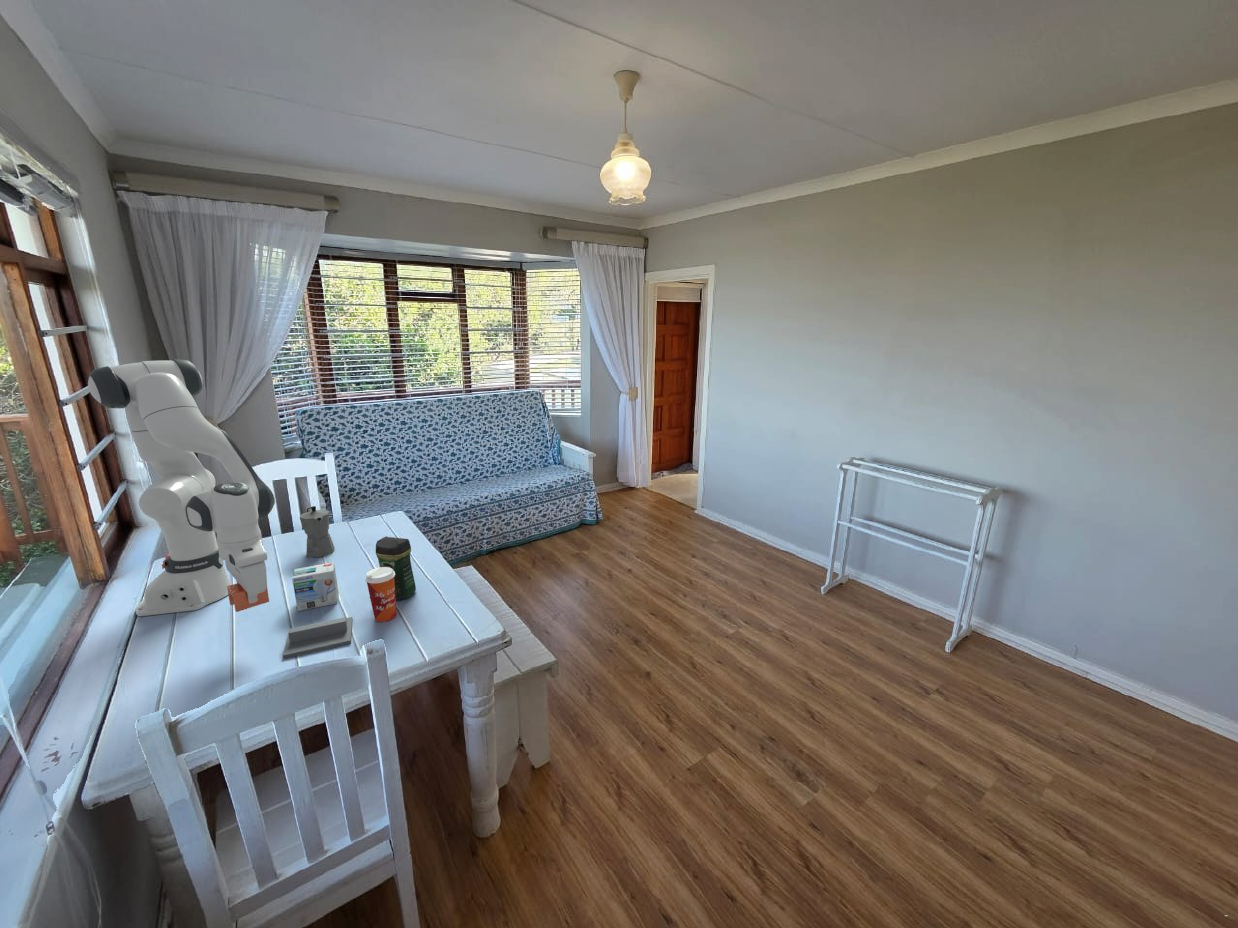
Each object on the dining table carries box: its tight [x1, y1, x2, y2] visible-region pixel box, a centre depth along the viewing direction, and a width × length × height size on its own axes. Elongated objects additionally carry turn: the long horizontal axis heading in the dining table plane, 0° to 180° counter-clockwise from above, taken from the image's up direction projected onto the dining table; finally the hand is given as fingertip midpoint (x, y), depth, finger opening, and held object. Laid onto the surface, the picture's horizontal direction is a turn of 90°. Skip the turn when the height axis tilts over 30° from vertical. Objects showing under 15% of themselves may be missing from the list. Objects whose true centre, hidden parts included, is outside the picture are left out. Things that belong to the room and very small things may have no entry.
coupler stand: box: [282, 616, 354, 660], centre depth 132 cm, size 15×12×4 cm
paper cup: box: [364, 566, 397, 623], centre depth 141 cm, size 8×8×14 cm
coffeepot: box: [299, 505, 336, 559], centre depth 181 cm, size 15×9×18 cm, turn 44°
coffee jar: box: [375, 535, 417, 601], centre depth 152 cm, size 10×8×19 cm
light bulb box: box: [291, 561, 340, 612], centre depth 148 cm, size 11×7×11 cm, turn 118°
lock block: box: [227, 582, 270, 613], centre depth 127 cm, size 7×6×5 cm
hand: (248, 596), depth 127 cm, fingers closed on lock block, 5 cm apart
